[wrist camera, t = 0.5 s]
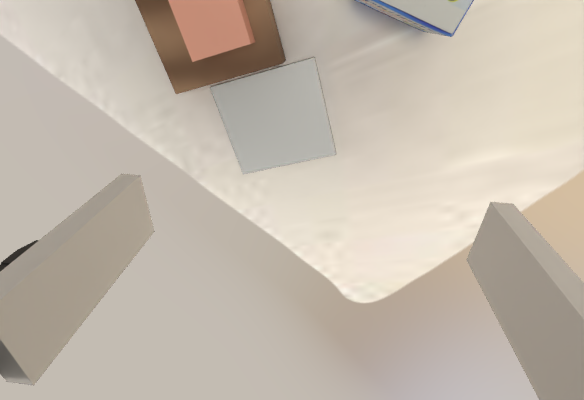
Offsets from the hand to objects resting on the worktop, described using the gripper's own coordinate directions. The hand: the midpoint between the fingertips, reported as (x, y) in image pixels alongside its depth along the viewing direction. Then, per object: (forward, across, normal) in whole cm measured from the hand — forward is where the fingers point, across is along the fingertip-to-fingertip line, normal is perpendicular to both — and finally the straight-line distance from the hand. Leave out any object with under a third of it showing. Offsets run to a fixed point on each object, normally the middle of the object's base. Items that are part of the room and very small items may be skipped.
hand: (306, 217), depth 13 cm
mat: (+26, -5, -5) cm, 27 cm away
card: (+24, -11, +7) cm, 27 cm away
